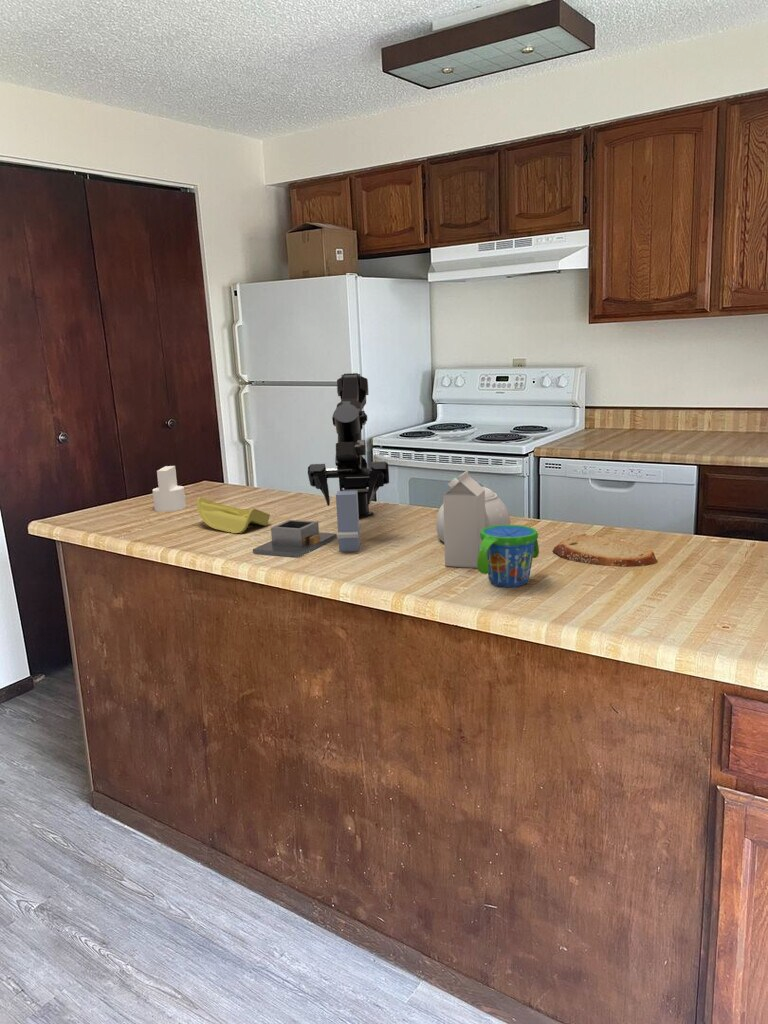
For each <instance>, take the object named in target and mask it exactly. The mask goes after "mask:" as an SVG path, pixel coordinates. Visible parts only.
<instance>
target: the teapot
mask: <svg viewBox="0 0 768 1024" xmlns="http://www.w3.org/2000/svg"><path fill="white" fill-rule="evenodd" d="M476 482H477V481H476ZM477 483H478V484H479V482H477ZM481 487H482V488H484V489H485V528H486V527H490V526H497V525H511V517H510V513H509V510H508V508H507V506H506V504H505V503H504V502H503V501H502V500H501V498H499V496H498V494H497V493H495V492H494V491H493V490H492V489H491V488H488V487H485V486H481ZM435 521H436V522H435V525H436V526H435V527H436V534H437V537H438V538H439V540H440V541H441V542H443V543H444V507H443V503H442V504H441V506H440V508H439V509H438V512H437V515H436V520H435Z"/></svg>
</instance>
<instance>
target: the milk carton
mask: <svg viewBox="0 0 768 1024" xmlns="http://www.w3.org/2000/svg"><path fill="white" fill-rule="evenodd" d="M447 485H448V486H449V488H450V489H449V490H448V491H447V492H445V493H444V494H443V499H442V500H443V503H442V504H443V507H444V542H443V543H444V565H445V566H444V567H456V568H474V569H475V568H476V569H478V568H477V561H478V555H479V549H480V546H481V543H482V539H481V537H480V532H481V530H482V529H484V528H485V489H484V488H482V487H483V486H482V485H480V484H479V482H478V483H477V481H476V480H474V479H473V478H472V477H471V475H469V470H468V469H467V470H465V471H464V472H462V473H461V474H460V475H459V480H458V478H457V477H454V478H453V479H452V480H451V481H450V482H448V483H447Z"/></svg>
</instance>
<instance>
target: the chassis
mask: <svg viewBox="0 0 768 1024" xmlns="http://www.w3.org/2000/svg"><path fill="white" fill-rule="evenodd" d="M337 534H338V533H335V532H334V533H333V532H320V529H319V521H314V520H313V521H312V520H311V521H310V520H300V519H299V520H295V519H288V520H285V521H283V522H281V523H278V524H276V525H274V526H271V527H270V535H271V537H270V538H271V540H270V541H268V542H265V543H264V544H261V545H259V546H256V547H255V548H252V554H253V553H256V554H255V555H264V554H266V555H265V556H275V555H280V556H279V557H286V556H294V557H293V558H298V557H299V558H301V557H302V555H303V556H305V555H307V554H309V553H310V552H312V551H314V550H316V549H318V548H320V547H321V546H324V545H326V544H327V543H330V542H332V541H334V540H335V539H338V538H337ZM309 551H310V552H309ZM306 553H307V554H306ZM304 554H305V555H304ZM300 556H301V557H300Z"/></svg>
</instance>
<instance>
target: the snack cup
mask: <svg viewBox="0 0 768 1024" xmlns="http://www.w3.org/2000/svg"><path fill="white" fill-rule="evenodd" d="M480 537H481V539H482V543H481V546H480V549H479V555H478V561H477V568H476V569H477V571H478V572H480V573H481V574H483V575H488V580H489V581H490V583H492V584H493V585H495V586H497V587H503V588H504V587H505V588H512V587H516V588H517V587H520V586H523V585H525V584H527V583H529V582H530V581H529V580H530V576H531V569H532V566H533V559H536V558H539V554H540V547H539V546H540V545H539V541H538V538H539V533H538V531H537V529H535V528H533V527H530V526H526V525H520V524H518V525H516V524H510V525H497V526H490V527H486V528H484V529H482V530H481V532H480Z"/></svg>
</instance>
